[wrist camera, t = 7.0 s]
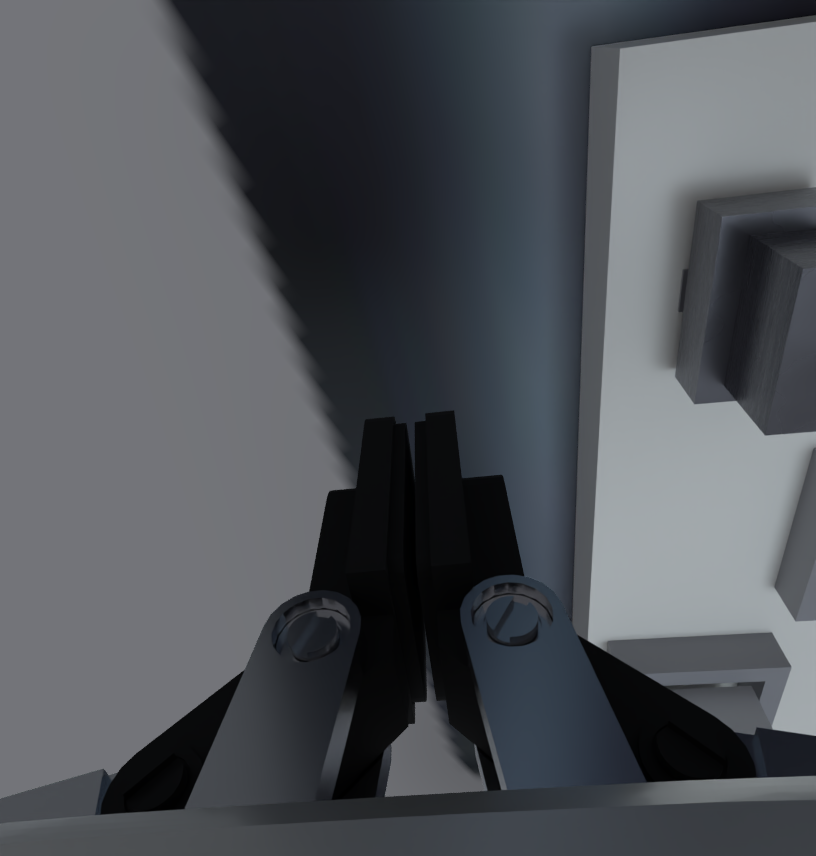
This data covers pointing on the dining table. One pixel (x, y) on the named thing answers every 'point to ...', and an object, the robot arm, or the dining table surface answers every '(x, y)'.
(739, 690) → the grey button
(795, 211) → the dark slider
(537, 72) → the dining table surface
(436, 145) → the dining table surface
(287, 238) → the dining table surface
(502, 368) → the dining table surface
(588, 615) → the panel
